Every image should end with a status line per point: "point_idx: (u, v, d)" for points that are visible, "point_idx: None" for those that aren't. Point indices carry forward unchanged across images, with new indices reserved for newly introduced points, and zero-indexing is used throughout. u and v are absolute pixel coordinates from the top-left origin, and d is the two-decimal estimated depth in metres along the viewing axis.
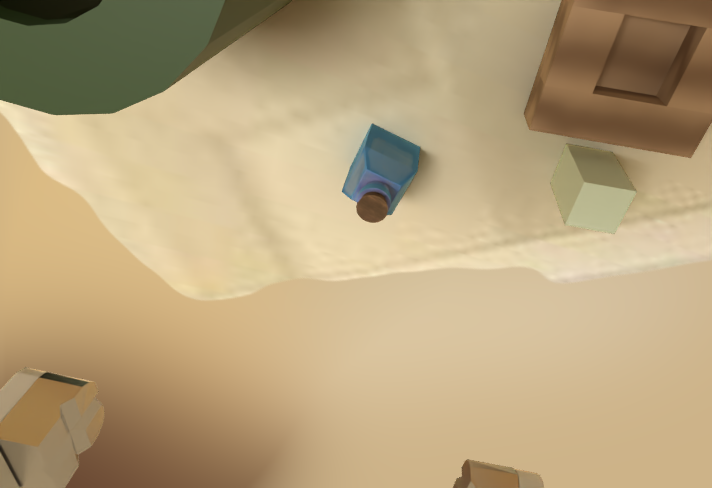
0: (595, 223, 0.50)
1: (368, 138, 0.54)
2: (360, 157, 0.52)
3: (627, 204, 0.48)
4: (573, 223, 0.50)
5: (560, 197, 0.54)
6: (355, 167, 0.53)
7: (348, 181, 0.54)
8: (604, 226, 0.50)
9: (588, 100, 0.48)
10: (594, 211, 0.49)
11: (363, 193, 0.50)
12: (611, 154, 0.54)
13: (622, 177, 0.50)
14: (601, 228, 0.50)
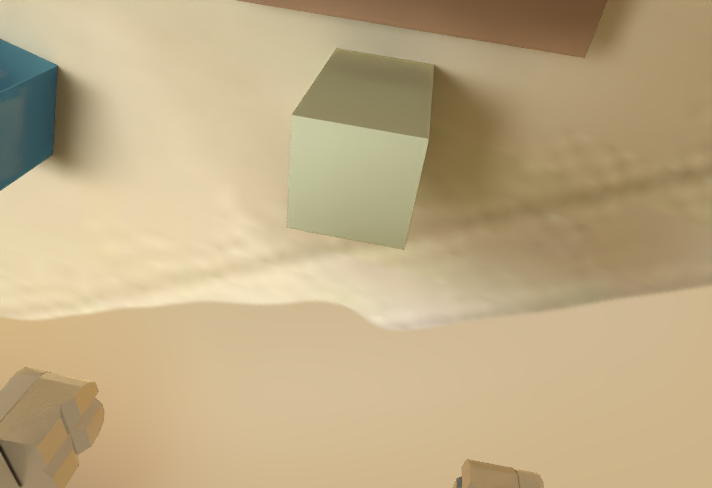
0: (353, 224, 0.20)
1: None
2: None
3: (414, 174, 0.19)
4: (303, 224, 0.21)
5: None
6: None
7: None
8: (375, 231, 0.20)
9: None
10: (342, 194, 0.20)
11: None
12: (428, 68, 0.24)
13: (416, 108, 0.20)
14: (370, 236, 0.21)
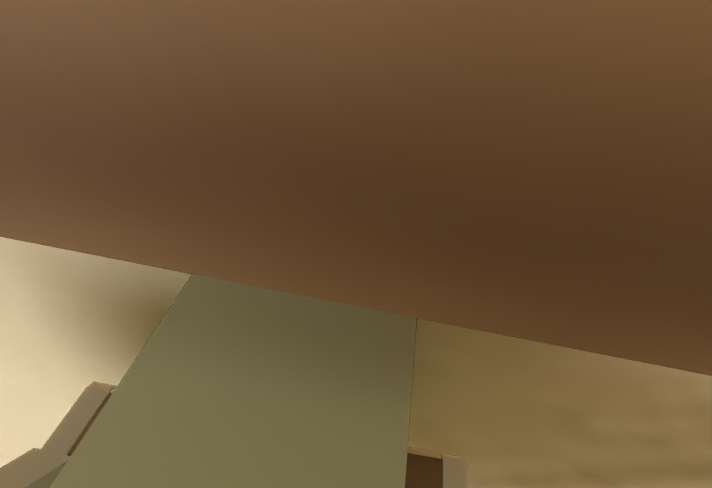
0: None
1: None
2: None
3: None
4: None
5: None
6: None
7: None
8: None
9: None
10: None
11: None
12: None
13: None
14: None
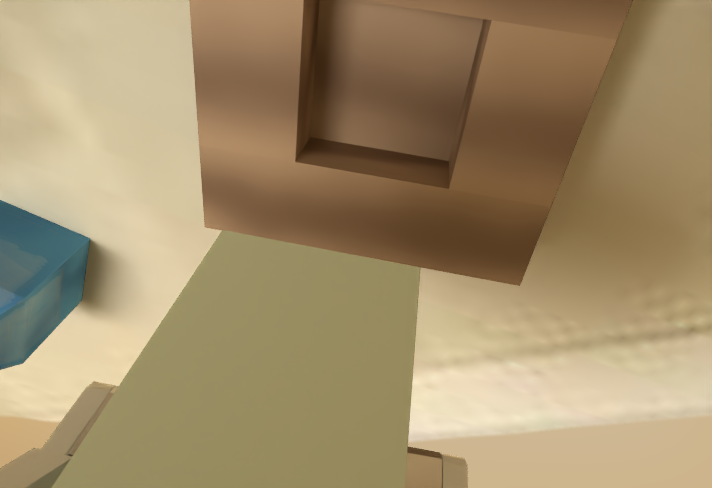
0: None
1: None
2: None
3: None
4: None
5: None
6: None
7: None
8: None
9: (292, 175, 0.23)
10: None
11: None
12: (407, 287, 0.12)
13: None
14: None
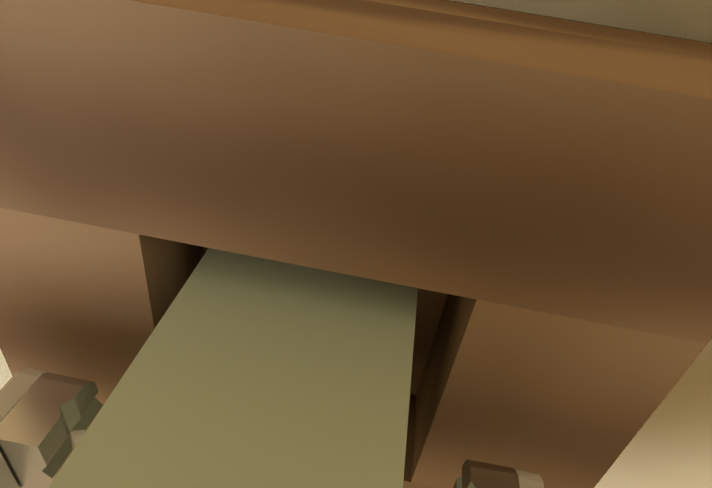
0: None
1: None
2: None
3: None
4: None
5: None
6: None
7: None
8: None
9: None
10: None
11: None
12: None
13: (366, 461, 0.08)
14: None
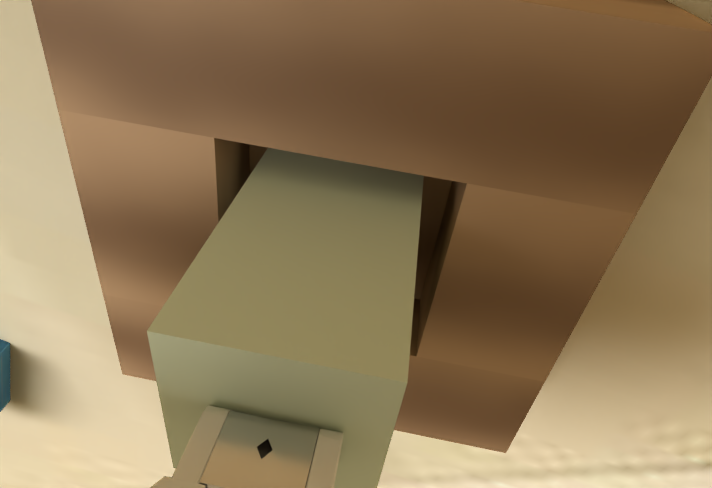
0: None
1: None
2: None
3: (382, 426, 0.10)
4: None
5: None
6: None
7: None
8: None
9: None
10: None
11: None
12: None
13: (388, 281, 0.11)
14: None
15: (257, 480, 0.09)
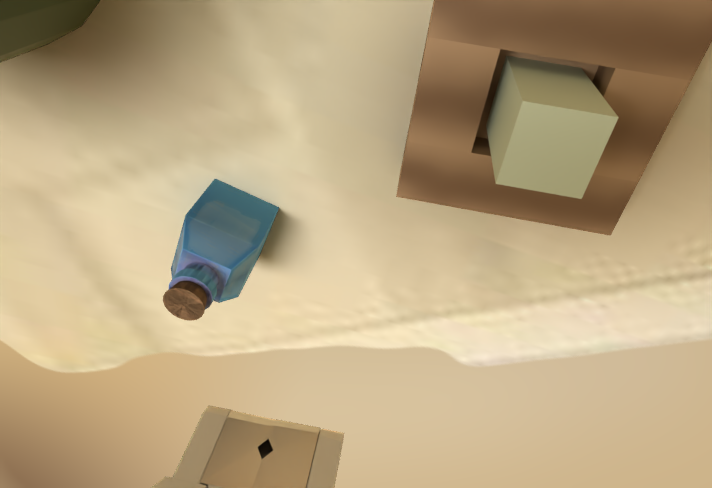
0: (547, 180, 0.29)
1: (197, 202, 0.41)
2: (182, 229, 0.40)
3: (602, 143, 0.27)
4: (509, 181, 0.29)
5: (494, 141, 0.32)
6: (179, 241, 0.41)
7: (174, 257, 0.42)
8: (563, 185, 0.29)
9: (467, 161, 0.35)
10: (544, 158, 0.28)
11: (174, 282, 0.37)
12: (579, 70, 0.33)
13: (594, 97, 0.28)
14: (558, 189, 0.29)
15: (258, 480, 0.09)
